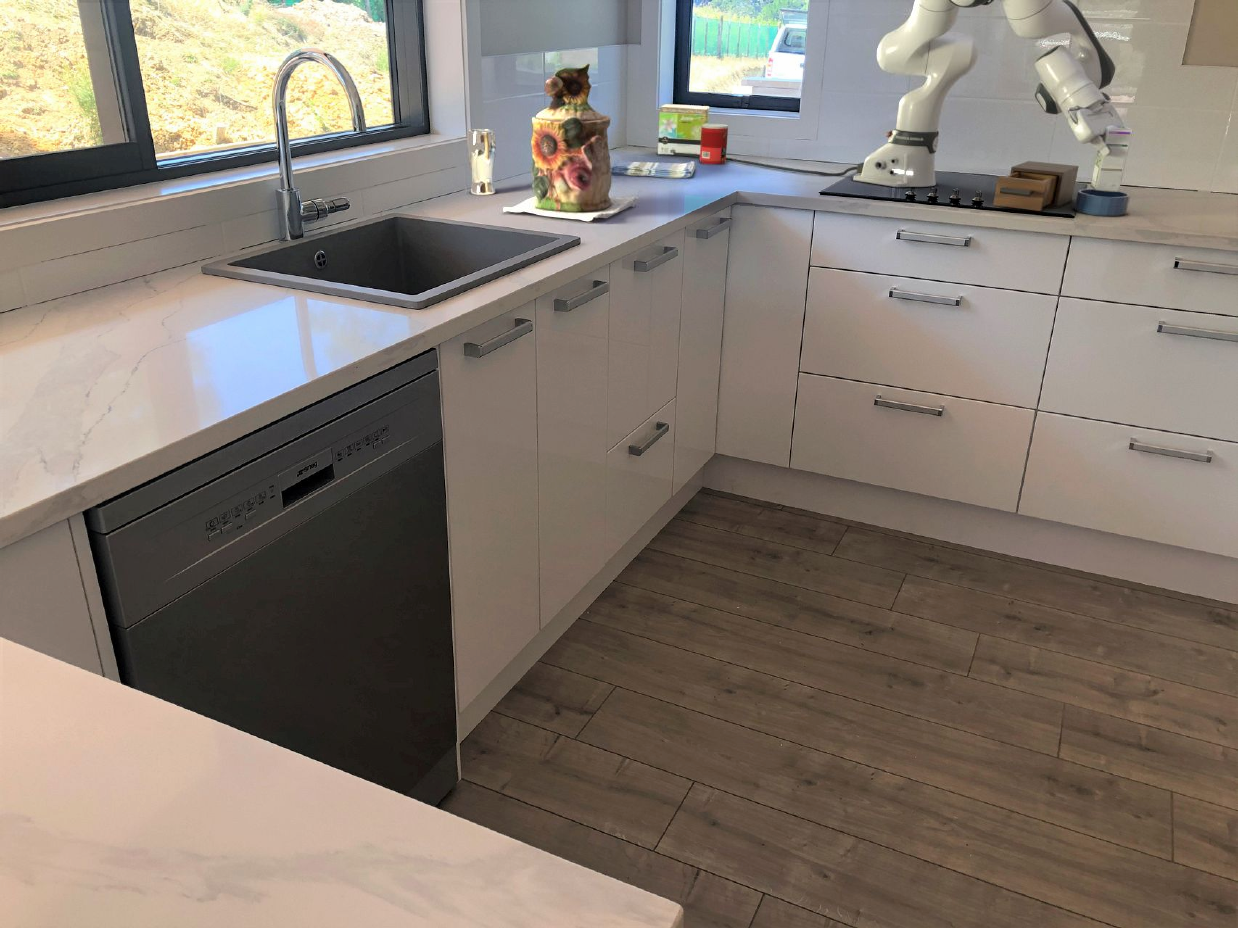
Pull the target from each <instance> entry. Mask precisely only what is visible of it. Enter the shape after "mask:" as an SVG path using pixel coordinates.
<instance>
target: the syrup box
mask: <svg viewBox="0 0 1238 928" xmlns="http://www.w3.org/2000/svg"><path fill="white" fill-rule="evenodd" d="M1105 129H1106V133H1105V134H1104V135H1101V138H1102V139H1103V140H1102V141H1103V142H1104V143H1105V144H1106V145H1107V146H1109V147H1110V149H1111V153H1110V154H1108V155H1107V156H1102V154H1101V153H1100V151H1099V150H1097V154H1096V158H1095V162H1094V167H1093V171H1092V177H1091V179H1090V180H1091V181H1090V185H1089V186H1090V187H1091V189H1095V190H1099V191H1113V192H1120V189H1121V185H1122V180H1123V177H1124V173H1125V168H1126V163H1127V158H1128V153H1129V149H1130V144H1131V140H1132V136H1133V129H1132V128H1130V127H1129V126H1125V125H1124V126H1108V127H1106V128H1105Z"/></svg>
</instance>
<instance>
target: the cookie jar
mask: <svg viewBox="0 0 1238 928" xmlns="http://www.w3.org/2000/svg"><path fill="white" fill-rule="evenodd" d="M590 65H591V64H590V63H585V64H583V66H581V67H571V66H569V67H561V68H560V69H558V70H556V71H555V72H554V74H553V76H552V77H551V78H549V79H547V80H546V81H545V84H544V85H545V86H544V89H543V90H544V92H545V93H546V95H547V97H550V98H551V99H552V100H551V101H550V103H549V104H550V105H549V106H548V107H547V108H545V109H543V110H541V111H539V113H537V114H536V116H533V117H532V118H531V124H532V136H531V141H530V144H531V152H532V161H531V171H530V173H531V176H532V178H533V181H532V184H531V187H532V192H533V194H534V196H533V197H530V198H527V199H526V200H523V201H522V202H521V203H518V204H517V205H514V206H512V207H509V206H504V207H503V212H504V213H510V212H511V213H530V214H535V215H538V216H544V217H553V218H561V219H562V218H563V219H570V220H580V221H584V222H591V221H592V220H594V219H598V218H602V219H608V218H610V217H612V216H615V214H618V213H619V212H622V211H624V210H625V209H628V208H630V207H635V203H636V202H637V200H638V197H637V196H627V197H625V196H623V197H622V196H621V197H619V196H617V197H615V196H614V197H613V196H612V197H610V195H609V193H610V190H611V188H612V179H613V178H612V174H611V167H612V166H611V155H610V151H609V150H610V149H609V136H608V128H609V127H610V125H611V117H610V116H608V115H606V114H601V113H600V112H599V111H597V110H595V109H594V108H593V107H592V106H591V105H590V104H589V102H588V100H589V96H590V93H591V88H592V84H591V83H590V75H589V69H590Z"/></svg>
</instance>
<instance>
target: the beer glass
mask: <svg viewBox="0 0 1238 928" xmlns="http://www.w3.org/2000/svg"><path fill="white" fill-rule="evenodd" d="M495 132H496V131H495V130H494V129H490V128H489V129H487V128H474V129H472V128H471V129H468V130H467V157H468V162H469V167H470V171H471V189H470V190H471V191H470V192H471V194H472V195H478V196H487V195H488V196H489V195H494V194H496V187H495V182H494V181H495V180H494V172H495V165H496V157H497V156H496V155H497V141H496V133H495Z"/></svg>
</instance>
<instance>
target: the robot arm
mask: <svg viewBox="0 0 1238 928" xmlns="http://www.w3.org/2000/svg"><path fill="white" fill-rule="evenodd" d="M994 1H995V0H914V2H913V7H912V10H911V14H910V15H909V17H908V19H907V20H906V21H905V22H904V23H903V24H902V25H900V26H899V27H898V28H896V29H894V30H892V31H890V32H887V33H886V34H885V35H884V36H883V37H882V39H880V42H879V44H878V46H877V48H876V49H877V50H876V61H877V64H878V66H879V68H880V69H881V71H883V72H885V73H889V74H893V75H897V76H913V77H914V76H915V77H916V76H918V77H926V80H925V83H923V85H922V86H919V87H917V88H915V89H913V90H911V91H909V92H907V93H905V94H904V95H903V96H902V97H901V99H900V100H899V103H898V109H897V117H896V124H895V128H894V129H892V130H890V131H888V132H886V138H887V142H886V143H885V144H884V145H882V146H881V147H879V148H878V149H876V150H874V151H873V152H871V153H870V154H869V155H868V156H867V157H866V158H865V160H864V161H863V162H859V163H857V166H851V167H848V168H846V169H845V170H843V171H842V172H825V171H817V170H807V169H799V168H793V167H786V166H779V165H773V164H766V163H763V162H756V161H751V160H744V159H738V158H732V157H726V161H730V162H736V163H741V164H746V165H753V166H758V167H764V168H768V169H769V168H770V169H775V170H781V171H787V172H795V173H802V174H811V175H819V176H824V177H825V176H826V177H827V176H829V177H841V176H844V175H846V174H847V173H849V172H850V171H856V174H854V175H853V178H852V180H853V181H856V182H863V183H870V184H875V185H880V186H881V185H882V186H888V187H893V188H924V187H933V186H936V185H937V182H936V172H935V171H936V169H935V168H936V167H935V165H936V164H935V159H936V158H935V157H936V153H937V150H938V145H939V135H940V134H939V133H940V132H939V130H938V129H939V123H940V118H941V114H942V113H941V112H942V109H943V105H944V102H945V100H946V97H947V95H948V93H949V91H951V89H952V87H953V86H954V85H955V84H956V83H957V82H958V81H959V80H960V79H962V78H963V77H964V76H966V75H968V73H970V72H971V71H972V69H974V67H975V65H976V64H977V61H978V59H979V45H978V42H977V41H976V39H975V37H974V36H973V35H971V34H967V33H963V32H958V31H951V29H952V28H953V27H954V25H955V24H956V22H957V20H958V15H959V11H960V8H965V9H970V8H975V7H979V6H988V5H990V4H992V3H993V2H994ZM999 1H1000V3H1001V5H1002V8H1003V11H1004V13H1005V16H1006V19H1007V21H1008V24H1009V26H1010V27H1011V29H1012V31H1013V33H1014V34H1015V35H1016V36H1018V37H1020V38H1022V39H1025V40H1042V39H1046V38H1049V37H1054V36H1055V35H1060V34H1066V33H1067V34H1069V35H1070V37H1071V39H1072V40H1073V42H1074V44H1075V45H1076V46H1077V49H1078V50H1079V54H1078V55H1077V56H1075V54H1073V52H1072V51H1071V50H1070V49H1069V48H1068V47H1066V46H1065V45H1064V44H1059V45H1056V46H1054V47H1052V48H1051V49H1049V50H1048V51H1046V52H1045V53H1044V54H1042V55H1041V56H1039V57H1038V58H1037V59H1036V61H1035V63H1034V68H1035V70H1036V73H1037V74H1038V76H1039V83H1038V85H1037V87H1036V89H1035V93H1034V98H1035V99H1036V101H1037V103H1038V104H1039V106H1040V107H1041V108H1042V110H1043V112H1044V113H1045V114H1050V115H1059V114H1061V113H1062V114H1063V115H1064V116H1065V117H1066V118H1065V119H1066V120H1067V122H1068V125H1069V127H1070V128H1071V130H1072V133H1073V134H1074V136H1075V137H1076V139H1077V140H1078V142H1080V143H1081V144H1082V145H1085V144H1091V145H1092V147H1094V149H1096V150H1097V151H1098V150H1099V151H1100V153H1101V154H1102V156H1107V155H1108V154H1110V153H1111V149H1110V147H1109V146H1107V145H1106V144H1105V143H1104V142H1103V141H1102V140H1103V139H1102V138H1101V135H1104V134H1105V133H1106V129H1105V128H1106V127H1108V126H1125V123H1124V121H1123V119H1122V117H1121V116H1120V114H1119V113H1118V111H1117V109H1116V108H1115V106H1114V105H1113V104H1112V103H1111V102H1112V98H1111V96H1110V94H1108V93H1106V92H1103V91H1102V89H1104V88H1106V87H1108V86H1110V85H1111V84H1112V81H1113V79H1114V77H1115V73H1116V66H1115V63H1114V61H1113V59H1112V57H1111V56H1110V55H1109V54H1108V53H1107V52H1106V50H1105V49H1104V47H1103V46H1102V44H1101V42H1100V41H1099V39H1098V37H1097V36H1096V34H1095V32H1094V31H1093V29H1092V27H1091V26H1090V24H1089V22H1088V21H1087V19H1086V18H1085V17H1084V15H1083V13H1082V12H1081V10H1080V8H1078V7H1077V5H1076V4H1075V3H1073V2H1072V1H1070V0H999ZM673 156H681V157H693V158H700V154H688V153H673Z"/></svg>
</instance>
